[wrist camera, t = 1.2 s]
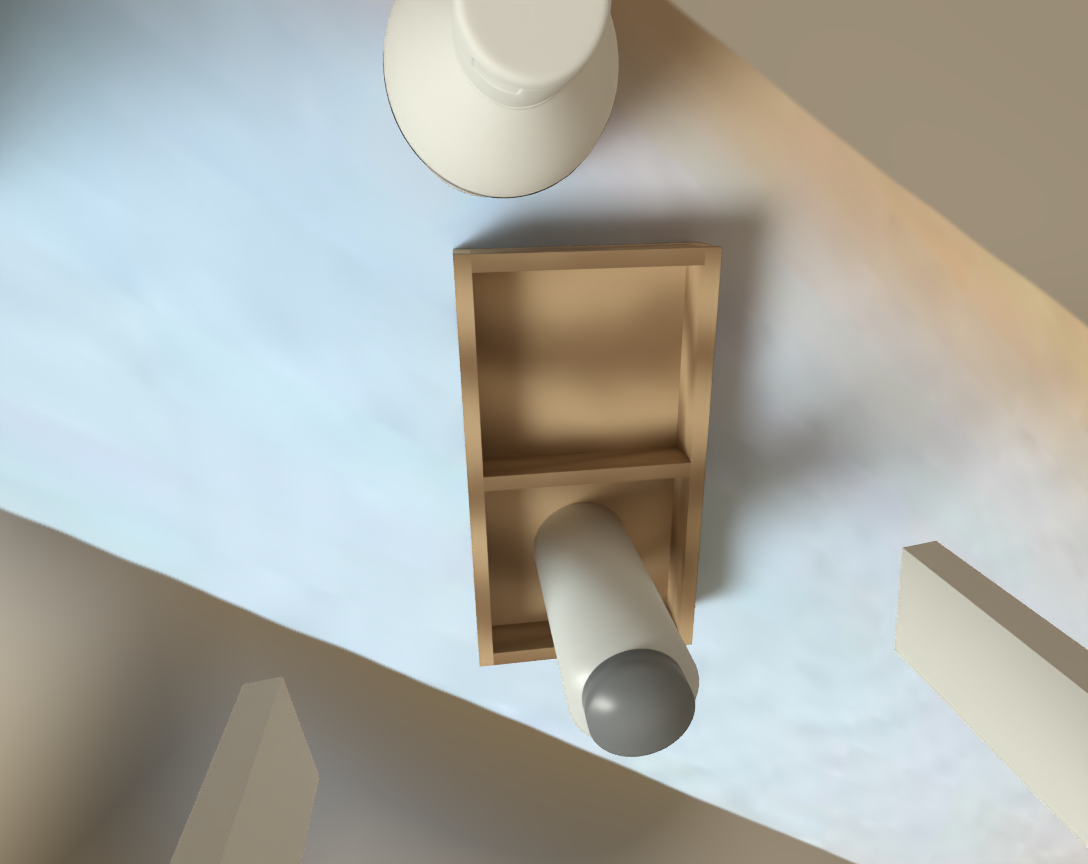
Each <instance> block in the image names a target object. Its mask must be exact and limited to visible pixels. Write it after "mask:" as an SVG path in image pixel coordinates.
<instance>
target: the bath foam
mask: <svg viewBox="0 0 1088 864" xmlns="http://www.w3.org/2000/svg"><path fill="white" fill-rule="evenodd" d="M611 2H612V0H395V2H394V4H393V7H392V10H391V13H390V16H389V20H388V24H387V29H386V34H385V42H384V53H383V69H384V80H385V87H386V92H387V96H388V100H389V104H390V107H391V110H392V113H393V115H394V118H395V120H396V123H397V125H398V127H399V129H400V131H401V133H402V134H403V136H404V138H405V139H406V141H407V143H408V144H409V145H410V147H411V148H412V150H413V151H414V152H415V153H416V155H417V156H418V157H419V158H420V159H421V160H422V161H423V162H424V164H425V165H426V166H427V167H428V168H429V169H430V170H431V171H432V172H433V173H434V174H435V175H436V176H437V177H438V178H440V179H441V180H442V181H443V182H445V183H446V184H448V185H449V186H451V187H453V188H455V189H457V190H459V191H461V192H464V193H467V194H470V195H475V196H481V197H492V198H516V197H522V196H527V195H531V194H535V193H538V192H540V191H543V190H545V189H547V188H549V187H551V186H553V185H555V184H557V183H558V182H560V181H561V180H563V179H564V178H566V177H567V176H568V175H570V174H571V173H572V172H573V171H574V170H575V169H576V168H577V167H578V166H579V165H580V164H581V163H582V162H583V160H584V159H585V158H586V157H587V156H588V154H589V153H590V152H591V150H592V149H593V147H594V146H595V144H596V142H597V141H598V139H599V137H600V135H601V134H602V132H603V130H604V128H605V126H606V123H607V121H608V119H609V116H610V114H611V111H612V108H613V104H614V100H615V96H616V91H617V85H618V74H619V55H618V44H617V37H616V32H615V27H614V23H613V20H612V17H611V14H610V12H611Z"/></svg>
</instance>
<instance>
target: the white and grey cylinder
mask: <svg viewBox="0 0 1088 864" xmlns="http://www.w3.org/2000/svg"><path fill="white" fill-rule="evenodd" d="M533 551H534V558H535V562H536V567H537V571H538V576H539V580H540V585H541V589H542V593H543V598H544V602H545V607H546V611H547V616H548V620H549V625H550V629H551V634H552V638H553V643H554V647H555V652H556V656H557V660H558V665H559V669H560V674H561V678H562V683H563V687H564V692H565V696H566V701H567V705H568V709H569V713H570V715H571V718H572V720H573V721H574V723H575V724H576V726H577V727H578V728H579V729H580V730H581V731H582V732H584V733H585V734H586V735H588V736H589V737H591V738H593V740H594V741H595V742H596V743H597V744H598V745H599V746H600V747H601V748H602V749H604V750H606V751H608V752H610V753H612V754H615V755H619V756H626V757H637V756H644V755H649V754H652V753H655V752H658V751H660V750H662V749H664V748H666V747H668V746H670V745H671V744H673V743H674V742H675V741H676V740H678V739H679V738H680V737H681V736H682V735H683V734H684V732H685V731H686V730H687V728H688V727H689V725H690V723H691V721H692V719H693V716H694V712H695V699H696V696H697V693H698V688H699V676H698V670H697V667H696V665H695V663H694V661H693V659H692V657H691V655H690V653H689V651H688V649H687V647H686V645H685V643H684V641H683V639H682V638H681V636H680V634H679V632H678V630H677V628H676V626H675V624H674V622H673V620H672V618H671V616H670V614H669V612H668V610H667V608H666V606H665V605H664V603H663V601H662V599H661V597H660V595H659V593H658V591H657V589H656V587H655V585H654V583H653V581H652V579H651V577H650V575H649V573H648V572H647V570H646V568H645V566H644V564H643V562H642V560H641V558H640V556H639V554H638V552H637V550H636V548H635V546H634V544H633V542H632V540H631V539H630V537H629V535H628V533H627V531H626V529H625V527H624V525H623V523H622V521H621V520H620V519H619V517H618V516H617V515H616V514H615V513H614V512H612V511H611V510H610V509H608V508H606V507H604V506H601V505H598V504H594V503H575V504H571V505H567V506H565V507H562V508H560V509H558V510H556V511H555V512H554V513H552V514H551V515H550V516H549V517H547V518H546V519H545V521H544V522H543V523H542V524H541V526H540V527H539V529H538V531H537V533H536V536H535V539H534V545H533Z"/></svg>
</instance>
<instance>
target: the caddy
mask: <svg viewBox="0 0 1088 864" xmlns="http://www.w3.org/2000/svg"><path fill="white" fill-rule="evenodd" d="M721 255H722V247H719V246H714V245H709V244H704V243H698V242H690V243H656V244H622V245H587V246H553V247H518V248H484V249H453V263H454V278H455V294H456V309H457V324H458V340H459V355H460V370H461V386H462V401H463V416H464V432H465V447H466V462H467V478H468V493H469V508H470V524H471V539H472V555H473V570H474V585H475V601H476V616H477V631H478V647H479V662H480V666H489V665H499V664H508V663H518V662H527V661H537V660H546V659H556V658H557V656H556V652H555V647H554V643H553V638H552V634H551V629H550V625H549V620H548V616H547V611H546V607H545V602H544V598H543V593H542V589H541V585H540V580H539V576H538V571H537V567H536V562H535V558H534V551H533V545H534V539H535V536H536V533H537V531H538V529H539V527H540V526H541V524H542V523H543V522H544V521H545V519H546V518H547V517H549V516H550V515H551V514H552V513H554V512H555V511H556V510H558V509H560V508H562V507H565V506H567V505H571V504H575V503H594V504H598V505H601V506H604V507H606V508H608V509H610V510H611V511H612V512H614V513H615V514H616V515H617V516H618V517H619V519H620V520H621V521H622V523H623V525H624V527H625V529H626V531H627V533H628V535H629V537H630V539H631V540H632V542H633V544H634V546H635V548H636V550H637V552H638V554H639V556H640V558H641V560H642V562H643V564H644V566H645V568H646V570H647V572H648V573H649V575H650V577H651V579H652V581H653V583H654V585H655V587H656V589H657V591H658V593H659V595H660V597H661V599H662V601H663V603H664V605H665V606H666V608H667V610H668V612H669V614H670V616H671V618H672V620H673V622H674V624H675V626H676V628H677V630H678V632H679V634H680V636H681V638H682V639H683V641H684V643H685V645H689V644H692V637H693V623H694V610H695V597H696V584H697V571H698V558H699V544H700V531H701V518H702V505H703V492H704V479H705V466H706V452H707V439H708V426H709V413H710V400H711V387H712V374H713V360H714V347H715V334H716V321H717V308H718V295H719V282H720V268H721Z"/></svg>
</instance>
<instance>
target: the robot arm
mask: <svg viewBox="0 0 1088 864" xmlns="http://www.w3.org/2000/svg"><path fill="white" fill-rule="evenodd" d="M894 650H895V651H896V652H897V653H898V654H899V655H900V656H901V657H902V658H903V659H904V660H905V661H906V662H907V663H908V664H909V665H910V666H911V667H912V668H913V669H914V670H915V672H916V673H917V674H918V675H919V676H920V677H921V678H922V679H923V680H924V681H925V682H926V683H927V684H928V685H929V686H930V687H931V688H932V689H933V690H934V691H935V692H936V693H937V694H938V695H939V696H940V697H941V698H942V699H943V700H944V701H945V702H946V703H947V704H948V705H949V707H950V708H951V709H952V710H953V711H954V712H955V713H956V714H957V715H958V716H959V717H960V718H961V719H962V720H963V721H964V722H965V723H966V724H967V725H968V726H969V727H970V728H971V729H972V730H973V731H974V732H975V733H976V734H977V735H978V736H979V737H980V738H981V739H982V740H983V741H984V743H985V744H986V745H987V746H988V747H989V748H990V749H991V750H992V751H993V752H994V753H995V754H996V755H997V756H998V757H999V758H1000V759H1001V760H1002V761H1003V762H1004V763H1005V764H1006V765H1007V766H1008V767H1009V768H1010V769H1011V770H1012V771H1013V772H1014V773H1015V774H1016V775H1017V776H1018V778H1019V779H1020V780H1021V781H1022V782H1023V783H1024V784H1025V785H1026V786H1027V787H1028V788H1029V789H1030V790H1031V791H1032V792H1033V793H1034V794H1035V795H1036V796H1037V797H1038V798H1039V799H1040V800H1041V801H1042V802H1043V803H1044V804H1045V805H1046V806H1047V807H1048V808H1049V809H1050V810H1051V811H1052V812H1053V814H1054V815H1055V816H1056V817H1057V818H1058V819H1059V820H1060V821H1061V822H1062V823H1063V824H1064V825H1065V826H1066V827H1067V828H1068V829H1069V830H1070V831H1071V832H1072V833H1073V834H1074V835H1075V836H1076V837H1077V838H1078V839H1079V840H1080V841H1081V842H1082V843H1083V844H1084V845H1085V846H1086V847H1087V849H1088V650H1087V649H1085V648H1084V647H1083V646H1081V645H1080V644H1078V643H1077V642H1076V641H1074V640H1073V639H1072V638H1070V637H1069V636H1067V635H1066V634H1065V633H1063V632H1062V631H1060V630H1059V629H1058V628H1056V627H1055V626H1053V625H1052V624H1051V623H1049V622H1048V621H1047V620H1045V619H1044V618H1042V617H1041V616H1040V615H1038V614H1037V613H1035V612H1034V611H1033V610H1031V609H1030V608H1028V607H1027V606H1026V605H1024V604H1023V603H1022V602H1020V601H1019V600H1017V599H1016V598H1015V597H1013V596H1012V595H1010V594H1009V593H1008V592H1006V591H1005V590H1003V589H1002V588H1001V587H999V586H998V585H997V584H995V583H994V582H992V581H991V580H990V579H988V578H987V577H985V576H984V575H983V574H981V573H980V572H978V571H977V570H976V569H974V568H973V567H972V566H970V565H969V564H967V563H966V562H965V561H963V560H962V559H960V558H959V557H958V556H956V555H955V554H953V553H952V552H951V551H949V550H948V549H946V548H945V547H944V546H942V545H941V544H940V543H938V542H937V541H933V542H928V543H923V544H919V545H914V546H909V547H904V548H903V551H902V563H901V575H900V587H899V599H898V611H897V623H896V635H895V648H894ZM318 781H319V774H318V772H317V769H316V766H315V764H314V761H313V758H312V755H311V753H310V750H309V747H308V744H307V742H306V739H305V736H304V734H303V731H302V728H301V725H300V723H299V720H298V717H297V715H296V712H295V709H294V707H293V704H292V702H291V698H290V696H289V693H288V690H287V688H286V685H285V682H284V680H283V677H277V678H273V679H268V680H263V681H258V682H253V683H248V684H243V686H242V688H241V691H240V693H239V695H238V698H237V700H236V703H235V705H234V708H233V710H232V713H231V715H230V718H229V720H228V722H227V725H226V728H225V730H224V732H223V735H222V737H221V740H220V742H219V744H218V747H217V749H216V752H215V754H214V757H213V759H212V762H211V764H210V767H209V769H208V772H207V774H206V776H205V779H204V781H203V784H202V786H201V789H200V791H199V794H198V796H197V798H196V801H195V803H194V806H193V808H192V811H191V813H190V816H189V818H188V821H187V823H186V825H185V828H184V830H183V833H182V835H181V838H180V840H179V843H178V845H177V847H176V850H175V852H174V855H173V857H172V860H171V862H170V864H301V861H302V856H303V851H304V847H305V842H306V837H307V833H308V828H309V824H310V819H311V814H312V809H313V805H314V800H315V795H316V791H317V786H318Z"/></svg>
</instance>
